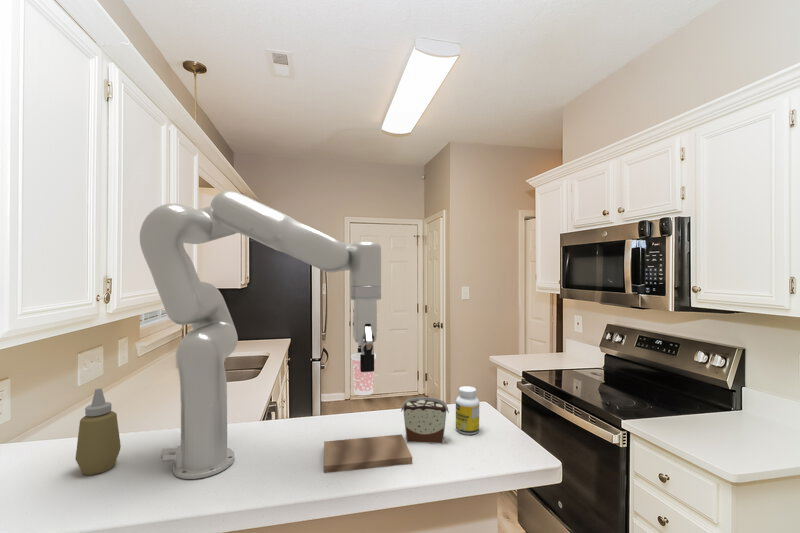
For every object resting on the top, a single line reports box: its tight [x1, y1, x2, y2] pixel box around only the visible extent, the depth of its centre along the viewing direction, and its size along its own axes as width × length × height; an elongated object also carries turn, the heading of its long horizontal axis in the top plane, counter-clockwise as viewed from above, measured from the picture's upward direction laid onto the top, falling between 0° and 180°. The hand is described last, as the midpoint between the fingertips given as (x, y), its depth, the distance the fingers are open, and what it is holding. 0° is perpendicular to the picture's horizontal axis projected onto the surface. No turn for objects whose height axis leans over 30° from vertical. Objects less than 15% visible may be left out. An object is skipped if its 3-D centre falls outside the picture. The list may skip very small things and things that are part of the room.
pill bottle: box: [455, 385, 480, 436], centre depth 106 cm, size 6×6×12 cm
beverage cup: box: [350, 339, 377, 396], centre depth 92 cm, size 6×6×14 cm
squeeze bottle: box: [74, 388, 122, 476], centre depth 86 cm, size 8×8×18 cm
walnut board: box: [323, 434, 413, 474], centre depth 92 cm, size 20×12×2 cm, turn 101°
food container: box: [400, 396, 450, 445], centre depth 101 cm, size 12×6×10 cm, turn 85°
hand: (365, 366), depth 92 cm, fingers closed on beverage cup, 6 cm apart
